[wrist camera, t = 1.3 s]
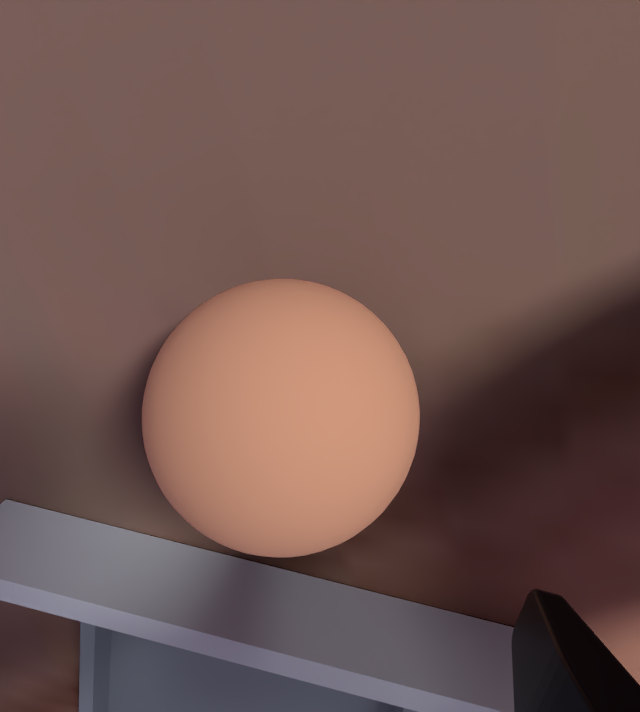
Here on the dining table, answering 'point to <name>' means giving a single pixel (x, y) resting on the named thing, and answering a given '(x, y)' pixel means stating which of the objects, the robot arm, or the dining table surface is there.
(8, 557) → the wall
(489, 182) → the dining table surface
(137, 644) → the grey square tray
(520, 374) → the dining table surface
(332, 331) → the ball
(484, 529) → the dining table surface
